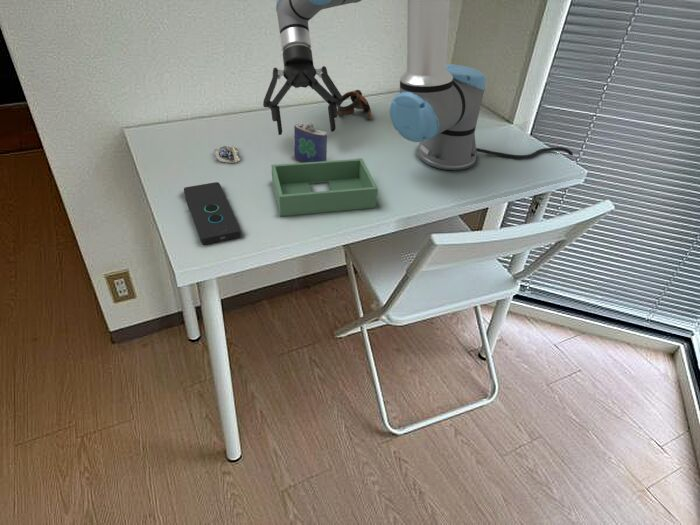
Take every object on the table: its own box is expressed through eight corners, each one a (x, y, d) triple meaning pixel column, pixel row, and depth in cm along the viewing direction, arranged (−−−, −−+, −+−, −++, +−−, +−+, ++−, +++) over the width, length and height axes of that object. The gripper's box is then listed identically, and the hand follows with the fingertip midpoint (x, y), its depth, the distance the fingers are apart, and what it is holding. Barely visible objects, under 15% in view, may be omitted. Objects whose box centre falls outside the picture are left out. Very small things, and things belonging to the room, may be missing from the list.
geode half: (231, 146, 133) (231, 139, 132) (248, 158, 129) (248, 151, 128) (208, 153, 130) (207, 146, 129) (225, 166, 125) (224, 159, 124)
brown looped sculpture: (373, 125, 148) (361, 103, 143) (343, 135, 152) (331, 114, 146) (375, 99, 155) (364, 77, 150) (347, 109, 159) (335, 88, 153)
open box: (360, 176, 125) (362, 158, 122) (376, 207, 115) (378, 188, 112) (272, 183, 121) (271, 164, 117) (280, 216, 111) (279, 196, 107)
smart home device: (200, 238, 100) (182, 187, 114) (201, 245, 101) (183, 193, 115) (241, 230, 103) (219, 181, 117) (242, 237, 104) (220, 187, 118)
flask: (328, 165, 129) (329, 125, 122) (322, 170, 127) (322, 129, 120) (297, 154, 132) (297, 115, 125) (291, 159, 130) (290, 119, 123)
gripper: (341, 56, 137) (351, 133, 136) (247, 59, 132) (257, 139, 130) (347, 42, 130) (358, 123, 129) (247, 44, 125) (258, 129, 123)
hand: (307, 131), depth 130 cm, fingers open, 13 cm apart
